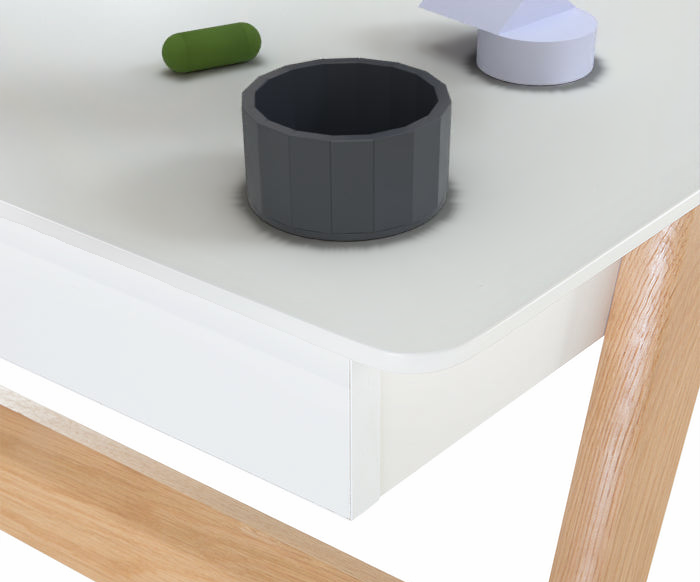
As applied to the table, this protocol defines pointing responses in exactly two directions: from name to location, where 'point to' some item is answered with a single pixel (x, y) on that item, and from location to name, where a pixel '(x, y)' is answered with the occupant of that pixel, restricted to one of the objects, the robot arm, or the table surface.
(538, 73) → the wedge on round base
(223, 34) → the pickle
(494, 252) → the table surface
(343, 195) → the pot
